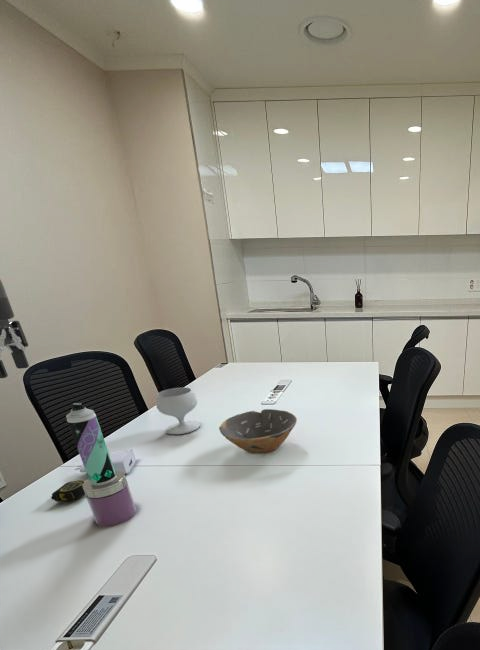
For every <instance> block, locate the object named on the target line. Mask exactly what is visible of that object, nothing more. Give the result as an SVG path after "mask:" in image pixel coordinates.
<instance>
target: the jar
mask: <svg viewBox="0 0 480 650" xmlns="http://www.w3.org/2000/svg"><path fill="white" fill-rule="evenodd" d="M84 496H85V498H86V501H87V503H88V506H89V508H90V510H91V514H92V516H93V519H94V521H95V524H96V525H98V526H100V527H111V526H115V525H119V524H121V523H124V522H126V521H127V520H129V519H131V518H132V517H133V516H134V515H135V514H136V513H137V507H136V504H135V501H134V498H133V495H132V491H131V489H130V486H129V483H128V482H127V485H126V486H125V487H124V488H123V489H122V490H120V491H119V492H117V493H114V494H112V495H109V496H106V497H101V498H90V497H87V496H86V494H85V495H84Z"/></svg>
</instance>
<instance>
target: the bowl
mask: <svg viewBox="0 0 480 650" xmlns="http://www.w3.org/2000/svg"><path fill="white" fill-rule="evenodd" d="M297 421H298V418H297V417H296V415H295V414H293V413H292V412H289V411H286V410H280V409H270V408H265V409H261V411H257V410H256V411H255V410H251V411H246V412H242V413H237V414H236V415H233V416H230V417H229V418H227V419H225V420H224V421H223V422H222V423H221V424H220V426H219V427H218V430H219V432H220V434H221V435H222V436H223V437H225V439H226V440H227V441H229V442H230V443H232V444H233V445H235V446H236V447H238V448H239V449H241V450H243V451H245V452H247V453H250V454H253V455H265V454H270V453H273V452H274V451H277V450H278V449H279V448H280V447H281V445H282V444H283V443H284V442H285V441H286V439H287V438H288V437H289V435H290V433H291V432H292V431H293V429H294V428H295V426H296V424H297Z"/></svg>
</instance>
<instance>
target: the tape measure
mask: <svg viewBox="0 0 480 650" xmlns="http://www.w3.org/2000/svg"><path fill="white" fill-rule="evenodd" d="M84 482H85V480H81V479H79V480H78V479H77V480H73V481H68V482H66V483H64V484H63V485H61V486H60V487H59V488H57V489H56V490H55V491H54V492H52V493H51V496H50V498H51V500H53V501H54V502H62V501H63V502H72V501H76V500H78V499H80V498H82V497H84V496H85V492H84V489H83V487H82V485H83V483H84Z"/></svg>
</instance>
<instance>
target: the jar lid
mask: <svg viewBox="0 0 480 650" xmlns="http://www.w3.org/2000/svg"><path fill="white" fill-rule="evenodd" d="M115 473H116V476H117V478H116V479H115V480H114V481H112V482H110V483H108V484H105V485H100V486H93V485H91V483H90V480H89V478H87V479H86V480H84V483H83V485H82V487H83V489H84V492H85V494H86V496H87V497H90V498H101V497H106V496H109V495H112V494H114V493H117V492H119V491H120V490H122V489H123V488H124V487H125V486H126V485H127V483H128V481H127V477H126V474H124V473H123V472H120V471H115ZM86 496H85V497H86Z"/></svg>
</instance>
